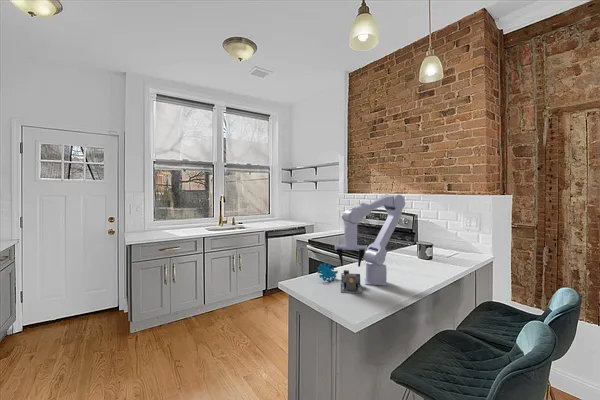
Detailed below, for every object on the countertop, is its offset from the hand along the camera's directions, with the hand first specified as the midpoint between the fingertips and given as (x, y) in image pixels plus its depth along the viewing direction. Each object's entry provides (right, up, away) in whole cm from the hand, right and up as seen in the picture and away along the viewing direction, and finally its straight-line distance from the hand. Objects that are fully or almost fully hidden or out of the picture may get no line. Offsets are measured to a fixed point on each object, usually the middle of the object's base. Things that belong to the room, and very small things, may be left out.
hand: (350, 265), depth 131 cm
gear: (-9, -9, +10) cm, 16 cm away
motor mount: (0, -9, -3) cm, 10 cm away
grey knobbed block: (-1, -9, -5) cm, 10 cm away
